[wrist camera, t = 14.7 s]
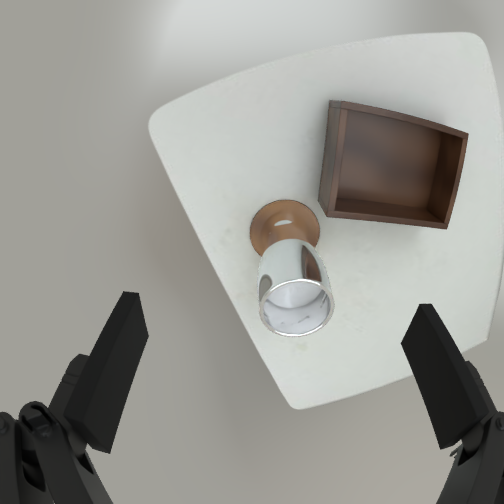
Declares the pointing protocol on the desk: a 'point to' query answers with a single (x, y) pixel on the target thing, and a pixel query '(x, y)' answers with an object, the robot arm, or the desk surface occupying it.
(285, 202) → the coaster
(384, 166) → the crate
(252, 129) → the desk surface
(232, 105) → the desk surface
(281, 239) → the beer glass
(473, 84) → the desk surface
